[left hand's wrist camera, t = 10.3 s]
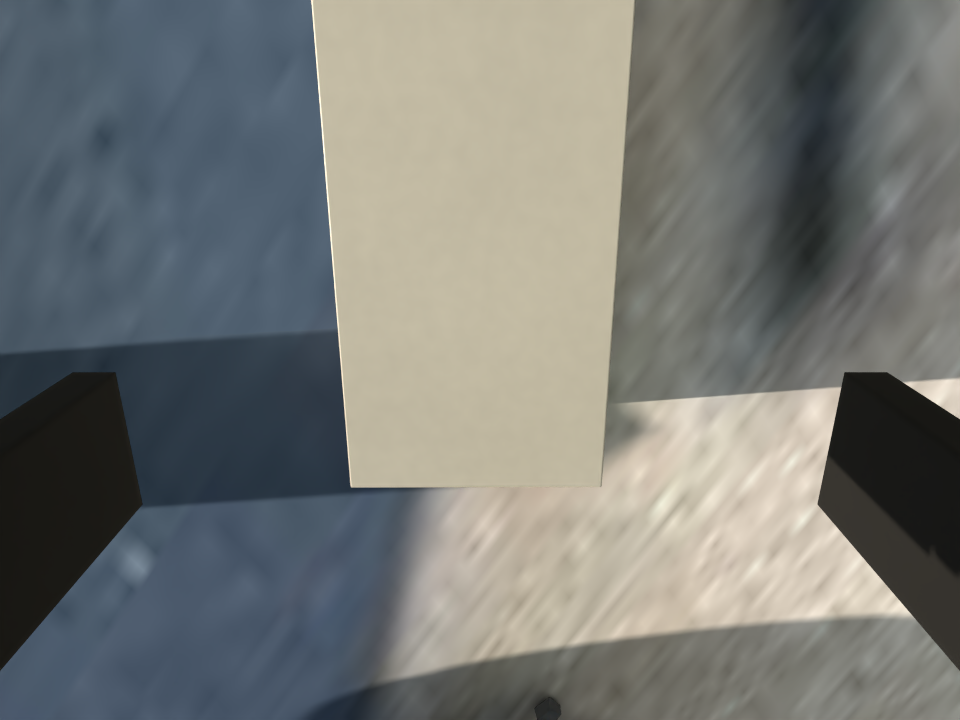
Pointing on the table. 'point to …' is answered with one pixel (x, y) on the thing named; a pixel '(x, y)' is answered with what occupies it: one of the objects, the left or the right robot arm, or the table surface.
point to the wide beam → (474, 233)
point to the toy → (548, 710)
